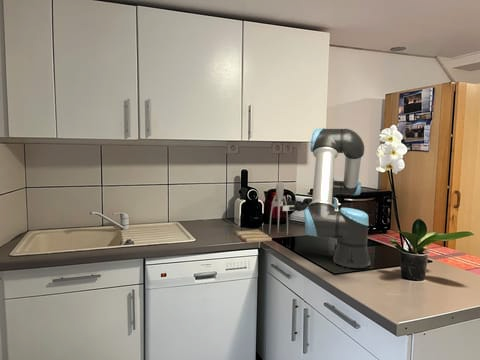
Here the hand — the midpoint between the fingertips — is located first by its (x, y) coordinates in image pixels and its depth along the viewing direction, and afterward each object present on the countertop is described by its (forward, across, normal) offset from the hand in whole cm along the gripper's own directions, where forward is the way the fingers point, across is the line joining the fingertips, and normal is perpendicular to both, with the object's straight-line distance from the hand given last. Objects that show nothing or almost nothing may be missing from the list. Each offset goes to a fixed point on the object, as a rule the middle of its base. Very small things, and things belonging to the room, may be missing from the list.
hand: (277, 206), depth 191 cm
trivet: (+14, 0, -16) cm, 22 cm away
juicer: (-3, 0, -17) cm, 17 cm away
